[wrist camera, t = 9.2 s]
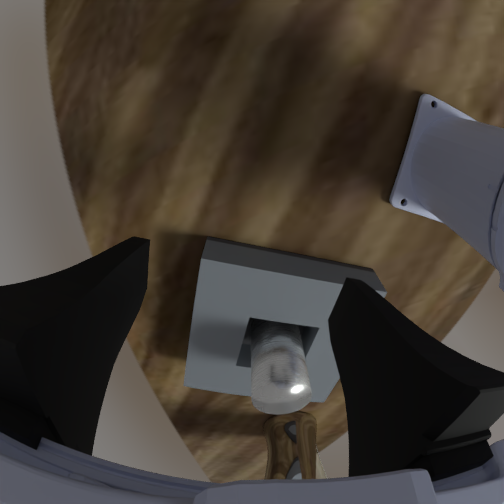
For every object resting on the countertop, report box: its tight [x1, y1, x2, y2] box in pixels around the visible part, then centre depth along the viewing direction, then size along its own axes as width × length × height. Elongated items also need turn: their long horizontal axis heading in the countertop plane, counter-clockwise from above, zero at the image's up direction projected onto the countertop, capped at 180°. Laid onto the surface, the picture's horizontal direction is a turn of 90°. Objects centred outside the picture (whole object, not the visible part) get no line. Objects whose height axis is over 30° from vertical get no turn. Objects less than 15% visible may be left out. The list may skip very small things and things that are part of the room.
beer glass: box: [263, 412, 327, 480], centre depth 25 cm, size 7×7×15 cm
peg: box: [250, 318, 312, 415], centre depth 20 cm, size 4×4×7 cm
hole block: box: [184, 236, 387, 402], centre depth 23 cm, size 12×12×3 cm
